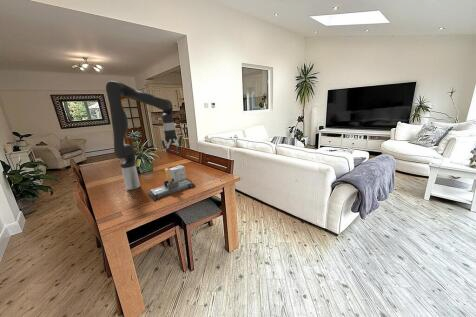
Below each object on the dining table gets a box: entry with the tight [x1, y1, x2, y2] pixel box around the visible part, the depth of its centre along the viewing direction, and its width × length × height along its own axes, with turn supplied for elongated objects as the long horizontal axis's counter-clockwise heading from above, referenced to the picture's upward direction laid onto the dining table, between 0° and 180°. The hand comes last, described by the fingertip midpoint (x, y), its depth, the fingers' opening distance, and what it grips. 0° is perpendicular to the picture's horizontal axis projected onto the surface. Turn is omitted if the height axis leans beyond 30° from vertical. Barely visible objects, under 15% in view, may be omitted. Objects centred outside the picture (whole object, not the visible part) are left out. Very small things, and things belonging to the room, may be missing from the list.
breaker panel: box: [149, 178, 192, 198], centre depth 136 cm, size 10×26×7 cm, turn 129°
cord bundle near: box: [147, 190, 161, 201], centre depth 129 cm, size 15×4×2 cm, turn 39°
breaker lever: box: [164, 167, 172, 183], centre depth 134 cm, size 4×2×13 cm, turn 39°
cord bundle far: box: [187, 179, 196, 189], centre depth 144 cm, size 15×4×2 cm, turn 39°
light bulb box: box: [168, 164, 187, 181], centre depth 153 cm, size 11×7×11 cm, turn 145°
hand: (173, 152), depth 137 cm, fingers open, 6 cm apart
